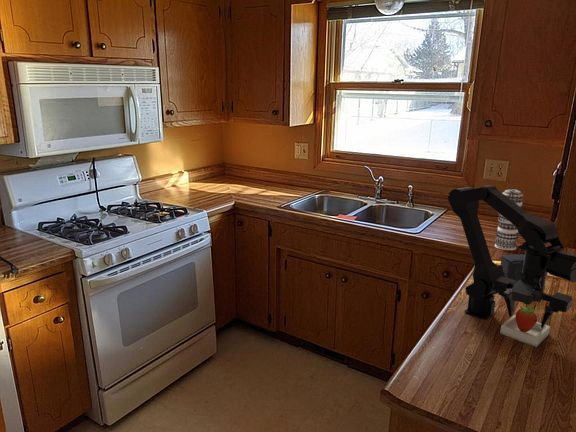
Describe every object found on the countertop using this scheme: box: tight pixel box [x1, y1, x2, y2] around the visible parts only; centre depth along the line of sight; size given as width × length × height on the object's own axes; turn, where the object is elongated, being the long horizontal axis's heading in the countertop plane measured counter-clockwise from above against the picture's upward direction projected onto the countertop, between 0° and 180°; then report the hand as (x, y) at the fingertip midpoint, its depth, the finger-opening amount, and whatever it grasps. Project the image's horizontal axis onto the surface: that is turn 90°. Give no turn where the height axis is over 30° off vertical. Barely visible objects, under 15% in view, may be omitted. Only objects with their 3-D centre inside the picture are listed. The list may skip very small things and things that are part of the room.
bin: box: [499, 314, 551, 348], centre depth 125 cm, size 9×9×2 cm
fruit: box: [515, 304, 538, 332], centre depth 124 cm, size 5×5×8 cm
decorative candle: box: [494, 188, 524, 251], centre depth 191 cm, size 9×9×25 cm
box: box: [500, 253, 525, 284], centre depth 155 cm, size 8×6×11 cm
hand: (526, 321), depth 124 cm, fingers open, 8 cm apart
